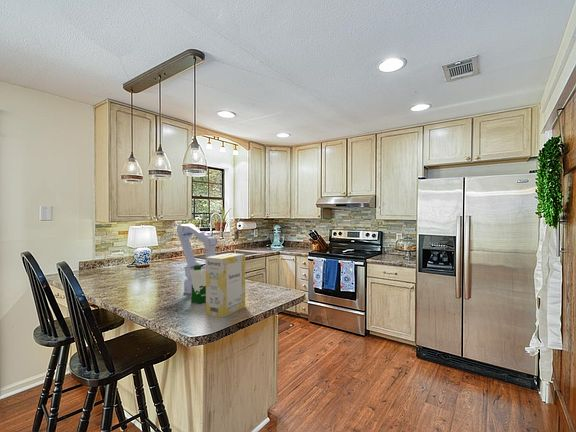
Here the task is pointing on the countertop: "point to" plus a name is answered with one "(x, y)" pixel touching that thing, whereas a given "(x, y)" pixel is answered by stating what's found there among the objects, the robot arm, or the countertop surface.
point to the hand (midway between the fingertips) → (210, 279)
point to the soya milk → (198, 284)
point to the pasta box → (225, 284)
